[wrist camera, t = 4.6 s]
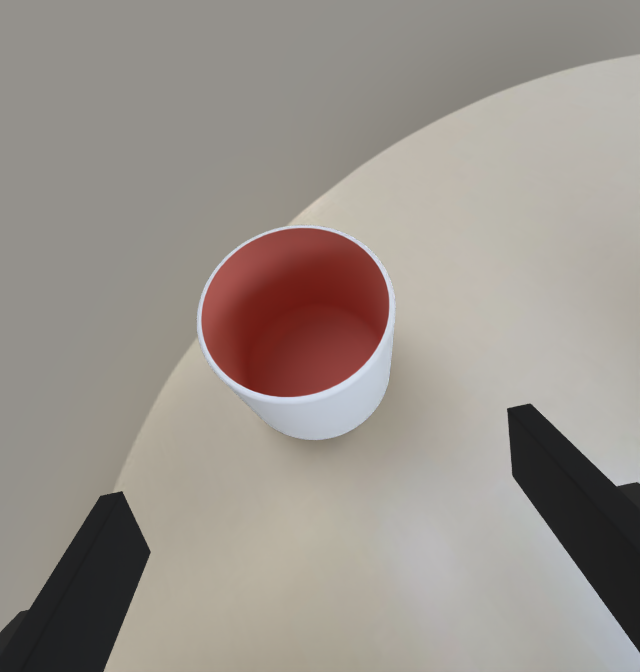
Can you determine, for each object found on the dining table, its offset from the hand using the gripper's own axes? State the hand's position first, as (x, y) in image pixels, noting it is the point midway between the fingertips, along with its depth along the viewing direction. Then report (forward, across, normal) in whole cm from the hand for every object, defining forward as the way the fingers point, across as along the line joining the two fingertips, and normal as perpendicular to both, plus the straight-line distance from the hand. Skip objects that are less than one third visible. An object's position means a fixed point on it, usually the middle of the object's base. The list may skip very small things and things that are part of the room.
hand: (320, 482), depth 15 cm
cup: (+16, 0, -3) cm, 16 cm away
